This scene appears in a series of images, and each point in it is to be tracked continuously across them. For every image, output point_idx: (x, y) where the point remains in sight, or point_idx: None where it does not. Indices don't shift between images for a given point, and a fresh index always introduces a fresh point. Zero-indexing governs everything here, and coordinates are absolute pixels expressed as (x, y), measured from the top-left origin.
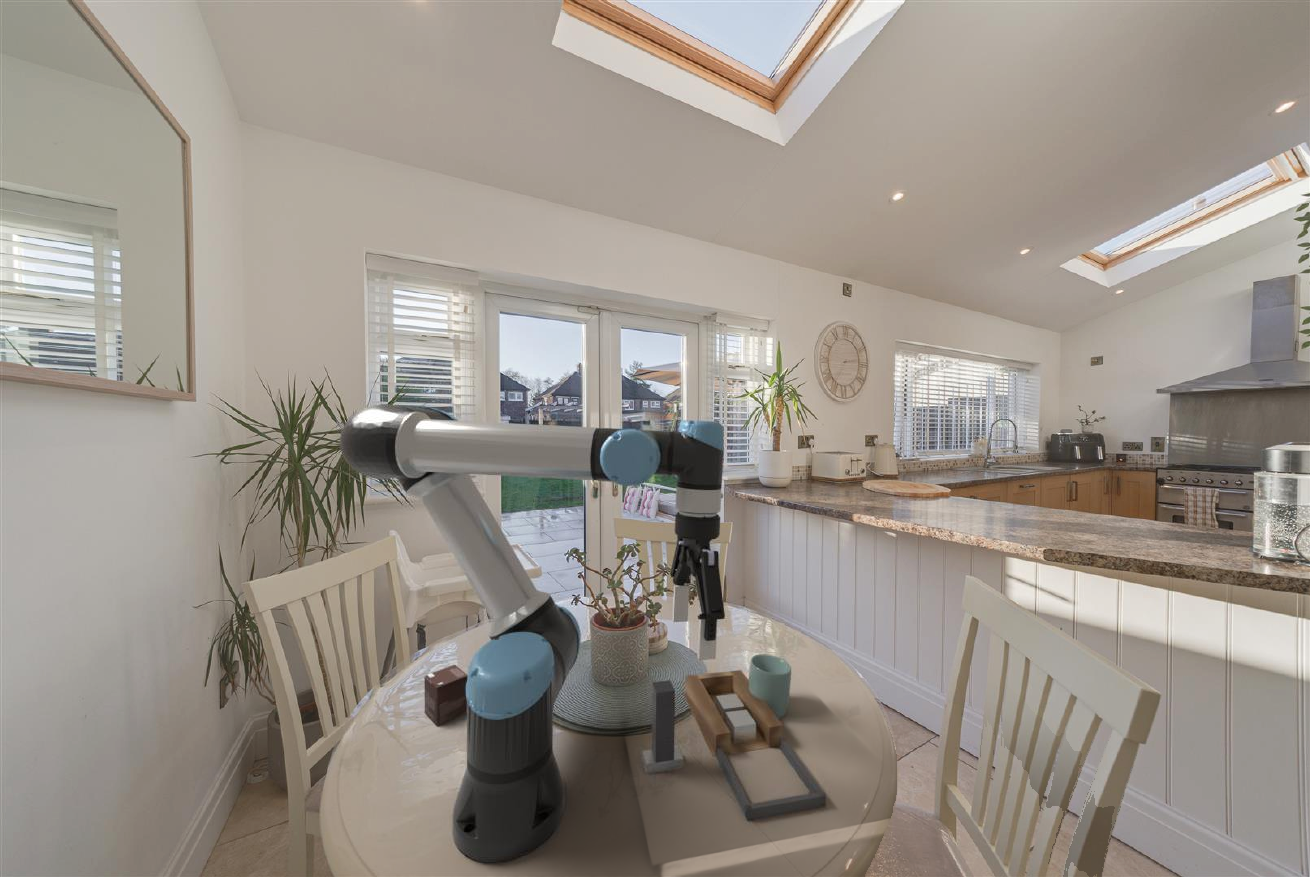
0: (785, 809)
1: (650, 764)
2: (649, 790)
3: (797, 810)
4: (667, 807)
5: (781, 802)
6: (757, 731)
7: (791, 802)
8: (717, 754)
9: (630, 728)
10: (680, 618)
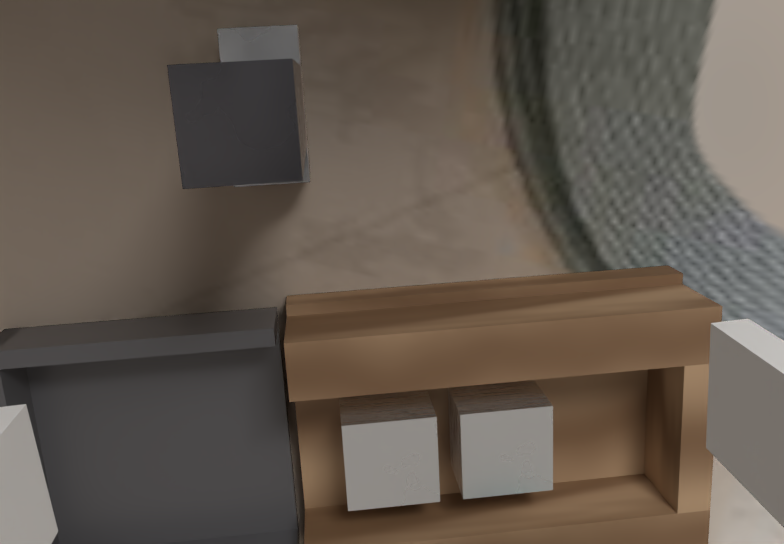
0: None
1: (219, 48)
2: (191, 42)
3: None
4: (111, 95)
5: None
6: None
7: None
8: (268, 323)
9: (536, 9)
10: (724, 399)
